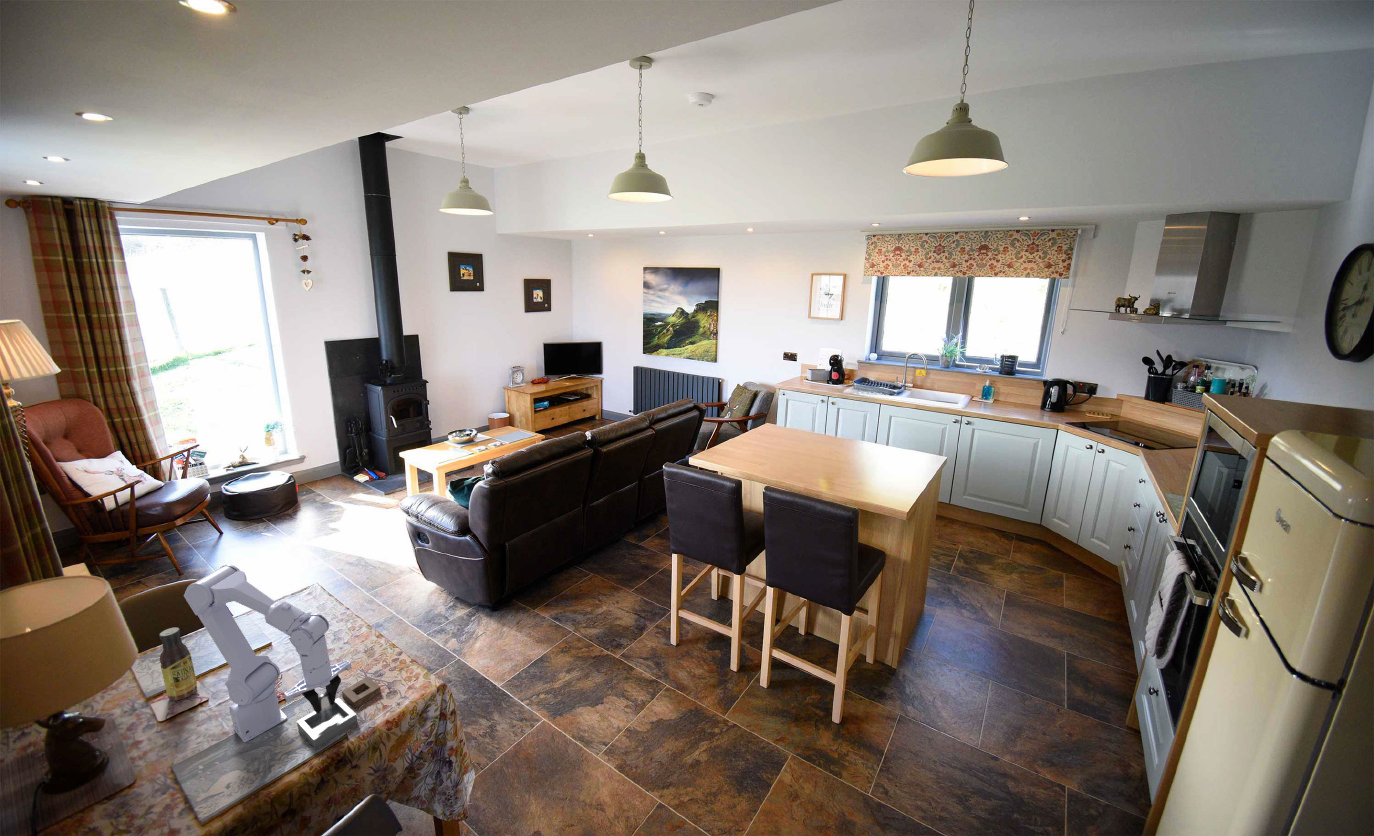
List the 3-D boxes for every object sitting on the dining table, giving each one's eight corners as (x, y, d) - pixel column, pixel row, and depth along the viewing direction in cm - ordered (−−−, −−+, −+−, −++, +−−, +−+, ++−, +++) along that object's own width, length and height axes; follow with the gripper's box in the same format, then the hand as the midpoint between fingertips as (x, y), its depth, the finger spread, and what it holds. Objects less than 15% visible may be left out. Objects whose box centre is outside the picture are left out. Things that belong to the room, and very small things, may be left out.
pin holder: (354, 708, 148) (353, 702, 148) (342, 697, 152) (341, 691, 151) (381, 692, 154) (380, 686, 153) (368, 682, 157) (367, 676, 157)
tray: (315, 749, 135) (313, 740, 134) (298, 730, 141) (296, 721, 140) (357, 723, 143) (356, 714, 142) (340, 706, 149) (338, 697, 148)
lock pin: (323, 723, 139) (318, 701, 137) (318, 718, 141) (313, 696, 139) (334, 716, 141) (330, 694, 140) (330, 711, 143) (326, 689, 141)
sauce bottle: (180, 703, 149) (163, 641, 144) (162, 700, 150) (144, 638, 145) (205, 686, 155) (189, 626, 150) (187, 683, 156) (171, 623, 151)
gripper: (289, 686, 129) (299, 733, 132) (353, 652, 140) (361, 696, 144) (277, 674, 133) (287, 719, 136) (340, 642, 144) (348, 685, 148)
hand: (324, 706), depth 140 cm, fingers closed on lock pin, 3 cm apart
